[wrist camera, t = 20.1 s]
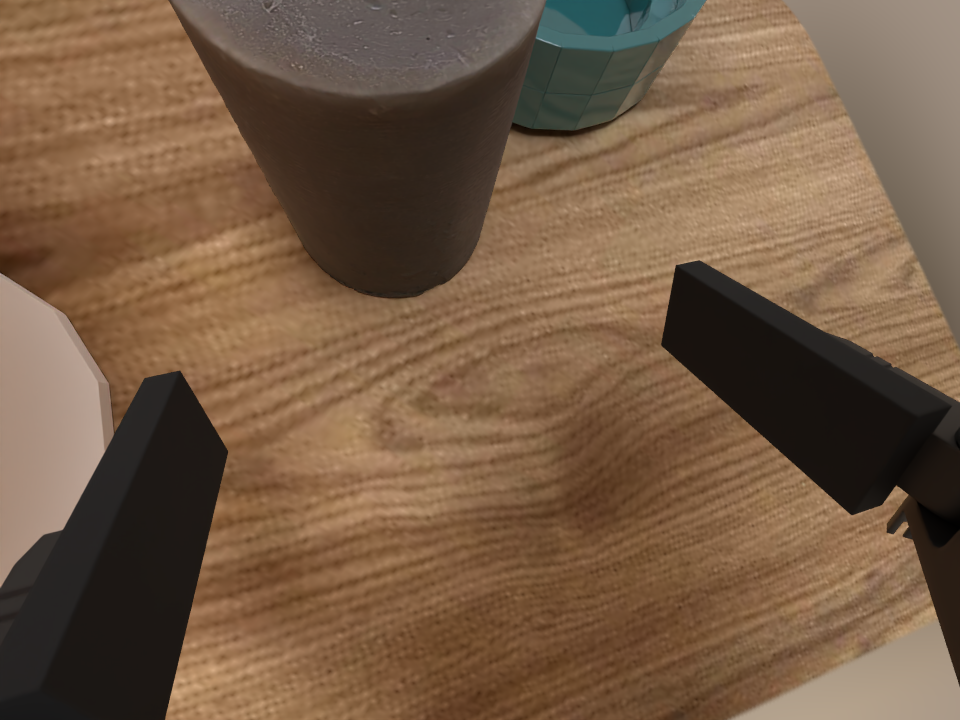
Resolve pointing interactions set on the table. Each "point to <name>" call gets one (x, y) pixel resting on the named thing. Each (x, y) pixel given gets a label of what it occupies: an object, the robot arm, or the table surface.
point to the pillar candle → (373, 121)
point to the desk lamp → (44, 420)
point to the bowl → (598, 59)
